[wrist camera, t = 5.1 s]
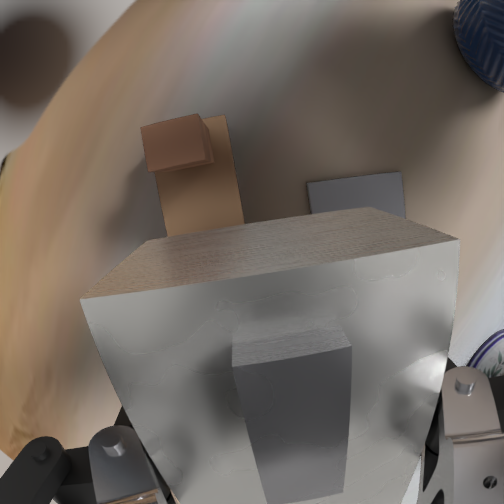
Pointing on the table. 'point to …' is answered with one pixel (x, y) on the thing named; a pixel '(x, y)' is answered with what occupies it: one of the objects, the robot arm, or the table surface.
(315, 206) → the felt mat
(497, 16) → the lamp
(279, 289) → the lever cap
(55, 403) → the table surface
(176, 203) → the plane body
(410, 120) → the table surface
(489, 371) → the vase
